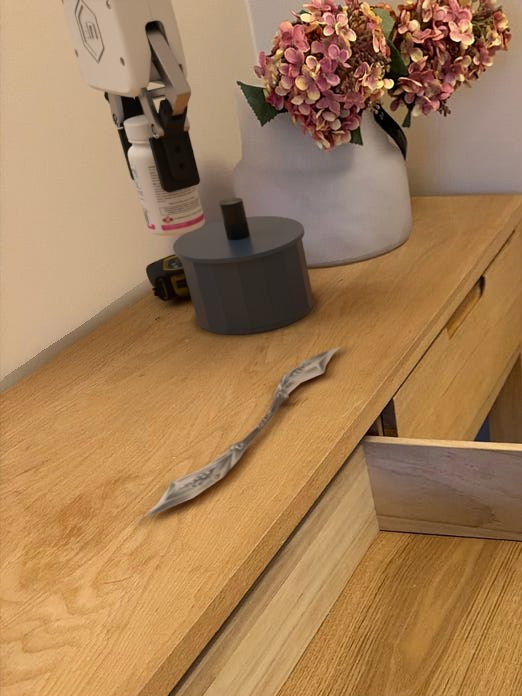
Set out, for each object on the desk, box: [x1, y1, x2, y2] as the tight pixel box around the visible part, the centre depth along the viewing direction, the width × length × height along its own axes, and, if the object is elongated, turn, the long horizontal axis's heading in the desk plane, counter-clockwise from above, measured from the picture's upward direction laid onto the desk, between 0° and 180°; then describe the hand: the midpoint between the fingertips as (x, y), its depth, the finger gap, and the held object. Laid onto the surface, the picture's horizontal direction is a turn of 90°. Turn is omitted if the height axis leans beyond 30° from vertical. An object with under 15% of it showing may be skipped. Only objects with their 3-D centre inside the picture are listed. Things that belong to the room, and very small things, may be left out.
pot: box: [181, 238, 314, 336], centre depth 105 cm, size 13×13×8 cm
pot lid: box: [172, 197, 305, 264], centre depth 102 cm, size 14×14×5 cm
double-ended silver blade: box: [143, 345, 342, 517], centre depth 86 cm, size 32×1×5 cm
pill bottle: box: [124, 115, 206, 237], centre depth 81 cm, size 5×5×8 cm
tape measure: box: [145, 253, 191, 302], centre depth 113 cm, size 7×7×4 cm
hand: (165, 180), depth 81 cm, fingers closed on pill bottle, 4 cm apart
